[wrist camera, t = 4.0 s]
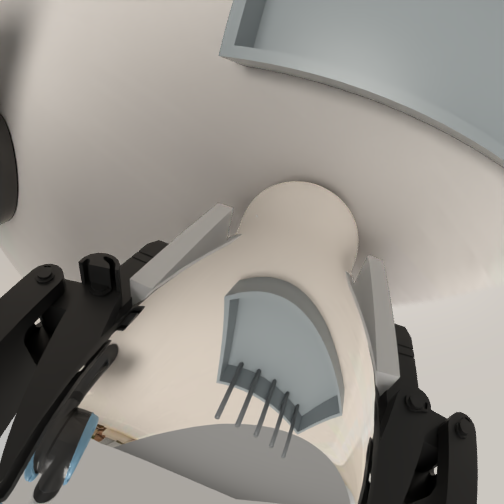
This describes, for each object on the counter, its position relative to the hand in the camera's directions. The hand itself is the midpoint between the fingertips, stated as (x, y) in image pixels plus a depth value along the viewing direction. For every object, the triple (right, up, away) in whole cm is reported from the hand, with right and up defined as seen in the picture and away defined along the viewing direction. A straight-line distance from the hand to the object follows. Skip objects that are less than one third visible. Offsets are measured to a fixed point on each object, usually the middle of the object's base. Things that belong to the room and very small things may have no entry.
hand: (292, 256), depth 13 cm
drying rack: (+10, +12, -5) cm, 17 cm away
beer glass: (+1, +1, +2) cm, 2 cm away
